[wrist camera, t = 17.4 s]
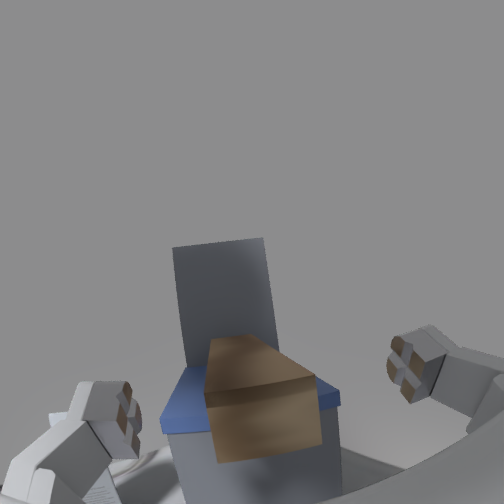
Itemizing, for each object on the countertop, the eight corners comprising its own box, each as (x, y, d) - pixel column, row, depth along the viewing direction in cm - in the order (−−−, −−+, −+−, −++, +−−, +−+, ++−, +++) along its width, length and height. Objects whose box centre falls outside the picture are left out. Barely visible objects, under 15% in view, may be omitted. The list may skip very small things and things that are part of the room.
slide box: (217, 463, 9) (203, 392, 10) (215, 368, 29) (211, 339, 29) (322, 444, 10) (315, 374, 10) (255, 362, 29) (251, 333, 30)
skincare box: (81, 506, 19) (47, 412, 21) (115, 500, 22) (85, 408, 24) (95, 536, 15) (50, 432, 17) (134, 527, 18) (97, 426, 20)
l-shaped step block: (210, 573, 12) (133, 193, 17) (209, 454, 36) (178, 259, 40) (345, 548, 13) (306, 176, 18) (282, 443, 37) (255, 250, 42)
